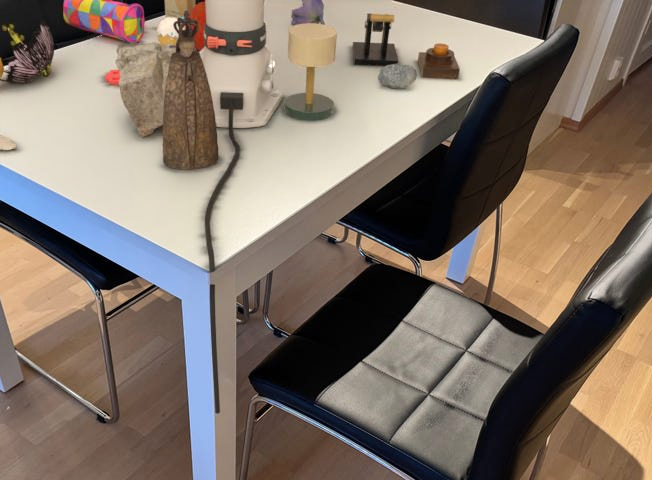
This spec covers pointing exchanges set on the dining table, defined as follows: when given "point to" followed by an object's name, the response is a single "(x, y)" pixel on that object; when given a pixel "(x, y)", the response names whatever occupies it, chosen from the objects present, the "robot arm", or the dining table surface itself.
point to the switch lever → (380, 21)
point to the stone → (144, 82)
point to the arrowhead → (6, 143)
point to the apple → (199, 24)
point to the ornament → (168, 31)
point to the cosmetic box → (178, 7)
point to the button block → (438, 65)
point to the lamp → (310, 68)
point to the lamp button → (440, 49)
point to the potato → (1, 69)
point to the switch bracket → (375, 48)
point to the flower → (308, 13)
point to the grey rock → (397, 75)
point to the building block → (113, 77)
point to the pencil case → (106, 18)
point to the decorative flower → (30, 55)
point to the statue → (188, 106)
